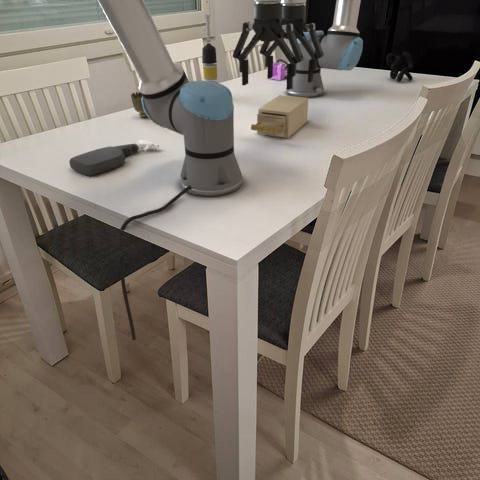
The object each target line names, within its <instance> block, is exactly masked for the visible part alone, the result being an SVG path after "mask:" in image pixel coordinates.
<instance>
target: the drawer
mask: <svg viewBox="0 0 480 480" xmlns="http://www.w3.org/2000/svg"><path fill="white" fill-rule="evenodd" d="M256 117H257V119H256V121H257V122H256V123H255V124H253V123H252V124H251V126H250V130H251V131H256V134H257V135H262V134H266V135H265V136H269V135H273V136H272V137H276V136H280V137H279V138H283V137H285V132H286V115H280V114H272V113H263V114H261V113H259V114H258V113H257V115H256Z"/></svg>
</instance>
